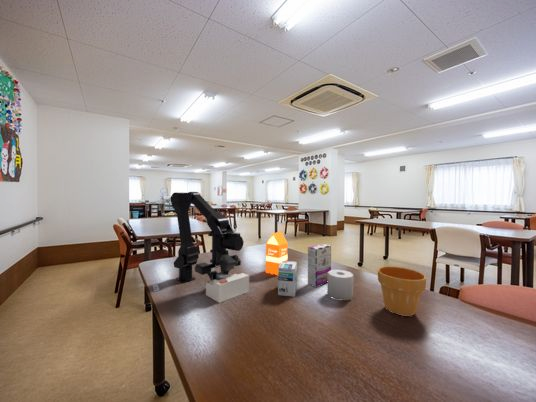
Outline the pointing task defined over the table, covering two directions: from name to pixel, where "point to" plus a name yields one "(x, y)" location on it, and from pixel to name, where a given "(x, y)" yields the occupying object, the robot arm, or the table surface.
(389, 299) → the flower pot
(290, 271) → the light bulb box
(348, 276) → the toilet tissue
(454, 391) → the table surface
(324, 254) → the candy bar box
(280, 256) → the orange juice
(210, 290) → the socket
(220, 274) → the plug
